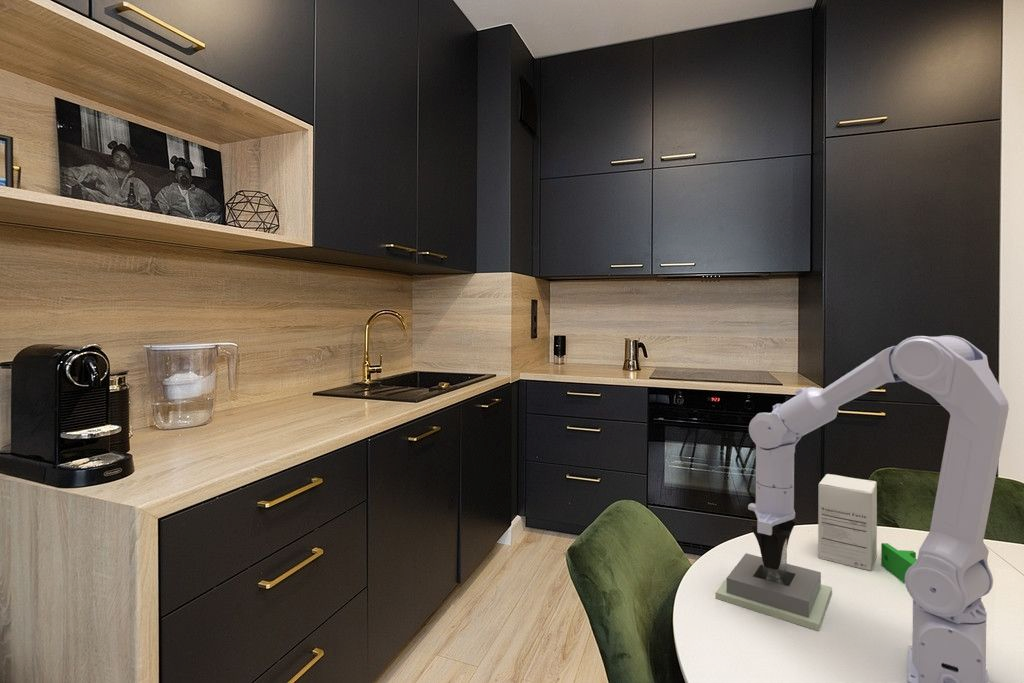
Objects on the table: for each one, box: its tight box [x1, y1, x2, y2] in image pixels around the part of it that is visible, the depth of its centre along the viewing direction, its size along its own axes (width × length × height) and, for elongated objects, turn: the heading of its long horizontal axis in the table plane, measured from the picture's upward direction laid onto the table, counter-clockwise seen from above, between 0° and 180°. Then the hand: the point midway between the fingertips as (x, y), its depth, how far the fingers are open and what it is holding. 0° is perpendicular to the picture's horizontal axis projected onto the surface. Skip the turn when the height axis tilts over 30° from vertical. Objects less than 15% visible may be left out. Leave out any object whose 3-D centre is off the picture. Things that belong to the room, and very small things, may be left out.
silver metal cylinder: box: [763, 539, 788, 585], centre depth 85 cm, size 4×4×8 cm
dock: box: [714, 552, 833, 632], centre depth 85 cm, size 14×15×4 cm
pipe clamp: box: [880, 542, 917, 584], centre depth 90 cm, size 11×4×5 cm, turn 173°
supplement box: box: [817, 473, 878, 572], centre depth 100 cm, size 9×9×15 cm
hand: (774, 563), depth 85 cm, fingers closed on silver metal cylinder, 3 cm apart
